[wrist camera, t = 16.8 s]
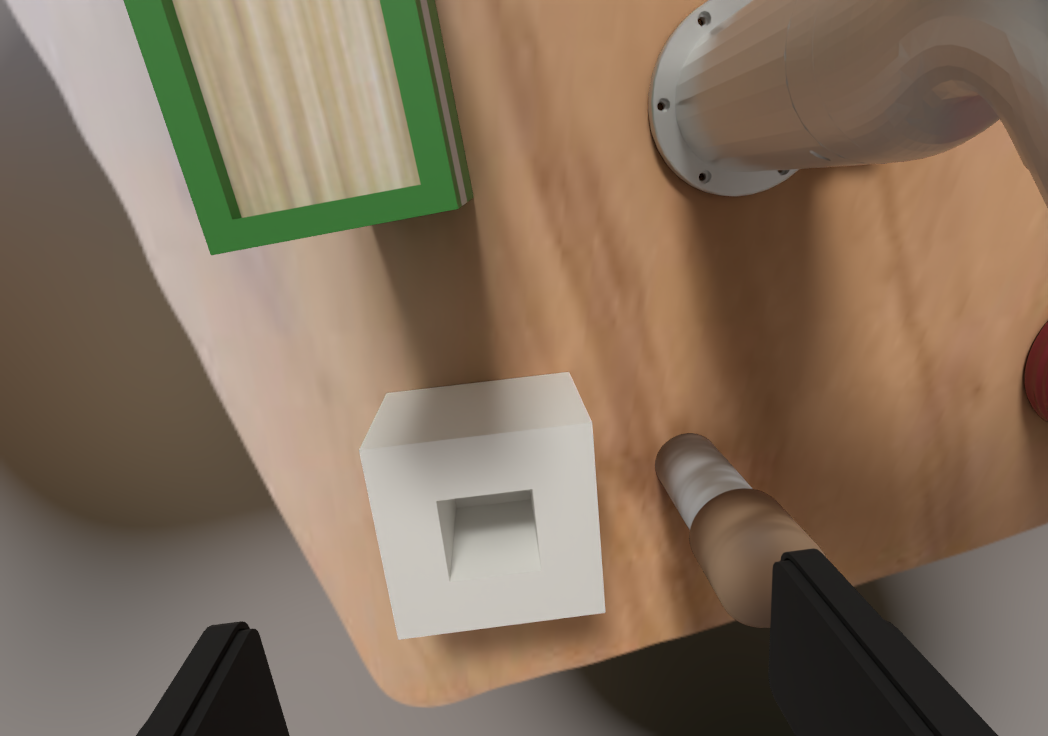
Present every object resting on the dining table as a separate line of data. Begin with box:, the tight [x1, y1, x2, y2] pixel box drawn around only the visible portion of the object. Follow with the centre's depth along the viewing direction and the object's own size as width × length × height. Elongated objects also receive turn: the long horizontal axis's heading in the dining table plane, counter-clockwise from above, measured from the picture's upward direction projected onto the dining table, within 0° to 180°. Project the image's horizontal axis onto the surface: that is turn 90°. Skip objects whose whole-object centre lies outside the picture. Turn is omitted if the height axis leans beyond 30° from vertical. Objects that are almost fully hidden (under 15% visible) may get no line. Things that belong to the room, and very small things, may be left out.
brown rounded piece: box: [655, 433, 825, 628], centre depth 40 cm, size 6×6×15 cm
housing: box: [359, 372, 605, 640], centre depth 41 cm, size 14×14×10 cm
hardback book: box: [124, 0, 474, 255], centre depth 26 cm, size 18×7×24 cm, turn 10°
